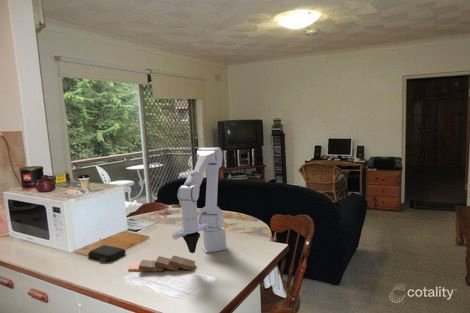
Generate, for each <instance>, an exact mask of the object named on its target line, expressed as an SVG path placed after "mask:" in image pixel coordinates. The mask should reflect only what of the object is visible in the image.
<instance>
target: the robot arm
mask: <svg viewBox="0 0 470 313" xmlns="http://www.w3.org/2000/svg"><path fill="white" fill-rule="evenodd" d="M196 159H197V160H196V164H195V166H194V169H193V170H192V171H190V172H189V174H188V175H187V178H186V180H185V182H184V184H183V185H181V186H180V187H179V188H178V190H177V193H176V194H177V196H176V197H177V199H178V201H179V202H178V203H179V205H180V207H181V208H180V209H181V219H182V220H181V221H182V228H181V229H178V230H176V231H175V232H173V233H172V239H174V240H178V239H179V238H183V240H184V242H185V244H186V245H187V249H188V252H189V253H191V254H195V253H196V249H197V245H198V242H199V239H200V237H201V233H200V232H202V234H203V236H202V237H203V238H202V239H203V245H201V249H203V251H204V253H205V254H208V253H212V252H218V251H225V250H228V248H227V236H226V230H225V228H224V217H223V216H224V214H223V213H224V211H223V210H222V209H221V208H220V207H219V206H218V189H219V188H218V184H219V172H220V171H219V169H220V168H221V167H223V150H222V149H221V147H219V146H218V147H198V149H197V150H196ZM205 170H206V171H207V173H206V187H205V188H206V189H205V206H203V207H202V208H201V209H200V210H199V215H198V205H197V204H198V202H197V201H198V199H199V197H200V190H201V189H200V187H201V184H202V183H203V180H204V175H203V173H204V172H205Z"/></svg>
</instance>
